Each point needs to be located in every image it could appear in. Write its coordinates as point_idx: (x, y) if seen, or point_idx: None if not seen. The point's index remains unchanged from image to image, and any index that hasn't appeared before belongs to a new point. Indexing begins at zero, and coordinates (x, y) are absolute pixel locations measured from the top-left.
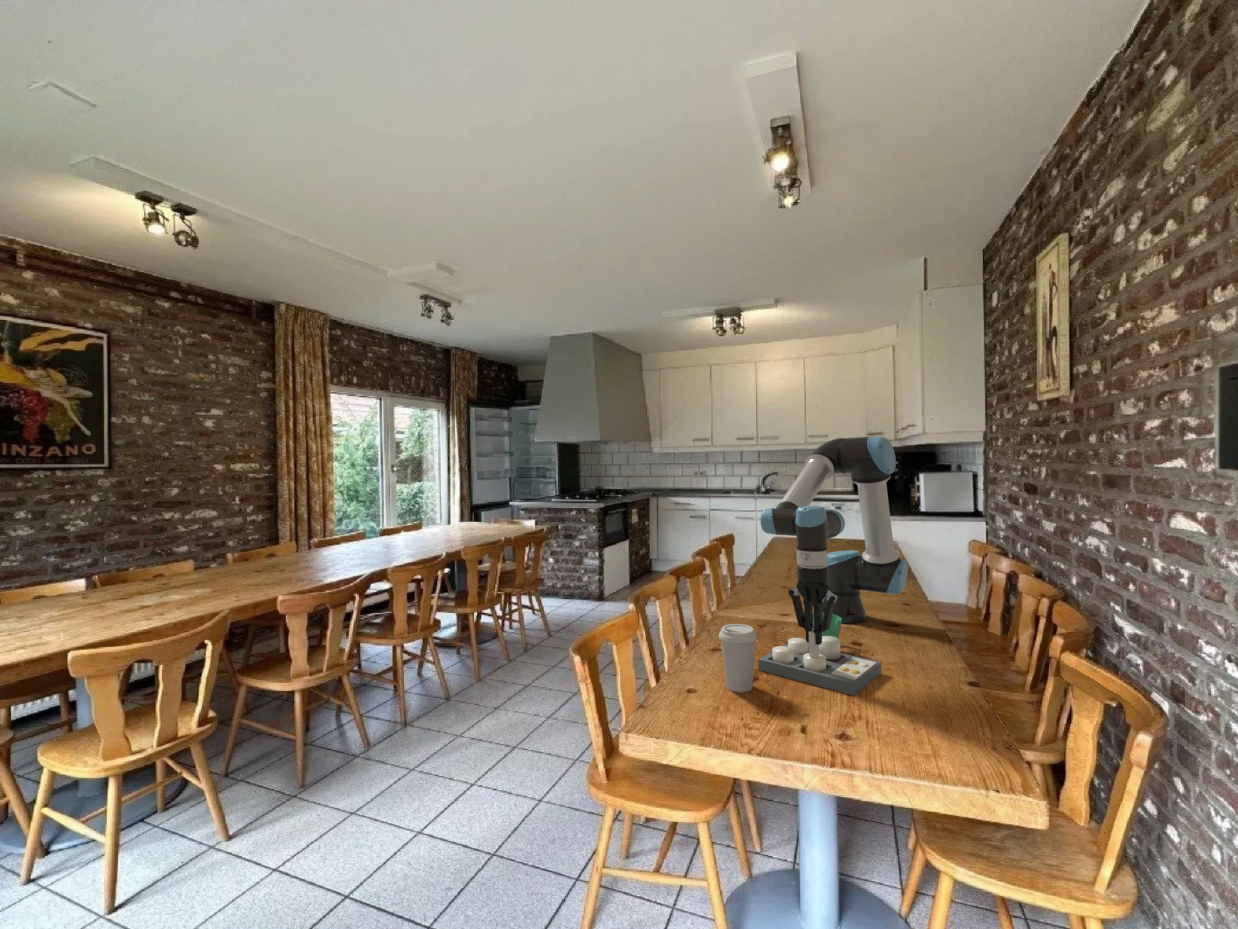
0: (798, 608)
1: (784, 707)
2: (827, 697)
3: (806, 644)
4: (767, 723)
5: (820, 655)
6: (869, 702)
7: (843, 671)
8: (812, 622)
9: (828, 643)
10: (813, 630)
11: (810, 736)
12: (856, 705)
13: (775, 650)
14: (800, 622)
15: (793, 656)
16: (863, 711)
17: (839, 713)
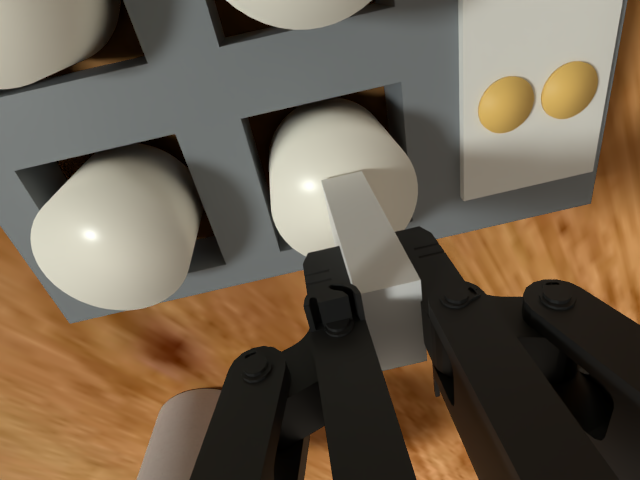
0: None
1: (402, 401)
2: (471, 266)
3: None
4: (421, 465)
5: (362, 157)
6: (620, 183)
7: (508, 133)
8: (381, 375)
9: (357, 11)
10: (436, 390)
11: None
12: (582, 240)
13: (104, 297)
14: (289, 464)
15: (184, 207)
16: (613, 258)
17: None
